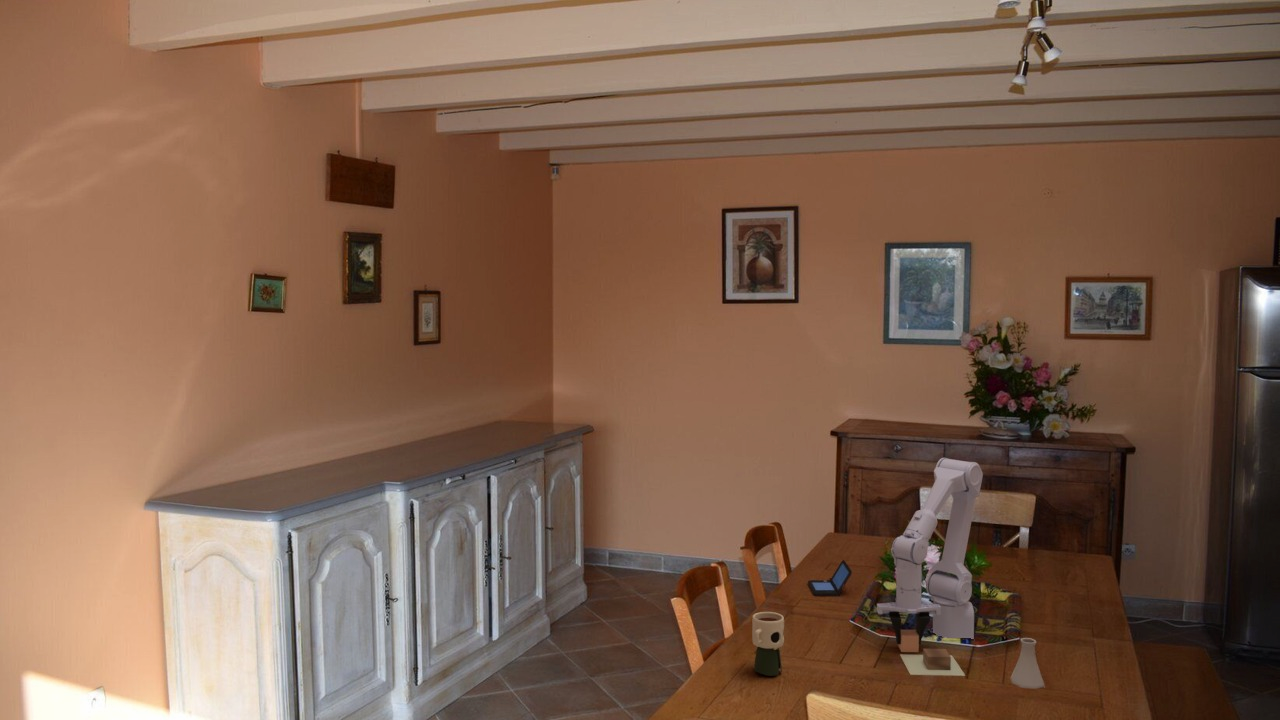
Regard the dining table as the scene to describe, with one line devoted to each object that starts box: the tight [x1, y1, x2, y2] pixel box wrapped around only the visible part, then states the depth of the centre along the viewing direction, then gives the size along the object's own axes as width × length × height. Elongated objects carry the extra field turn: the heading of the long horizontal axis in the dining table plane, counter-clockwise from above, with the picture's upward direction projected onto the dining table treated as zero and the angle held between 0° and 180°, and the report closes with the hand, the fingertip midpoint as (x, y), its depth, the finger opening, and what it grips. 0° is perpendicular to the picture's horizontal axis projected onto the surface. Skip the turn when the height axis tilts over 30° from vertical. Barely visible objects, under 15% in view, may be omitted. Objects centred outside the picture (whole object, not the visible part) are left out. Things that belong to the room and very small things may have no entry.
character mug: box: [751, 611, 785, 677], centre depth 221 cm, size 11×7×13 cm, turn 143°
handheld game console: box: [807, 559, 853, 597], centre depth 282 cm, size 12×11×7 cm
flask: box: [1010, 637, 1046, 690], centre depth 214 cm, size 7×7×10 cm
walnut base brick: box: [922, 648, 951, 670], centre depth 223 cm, size 5×5×3 cm
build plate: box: [899, 654, 966, 677], centre depth 224 cm, size 12×12×1 cm
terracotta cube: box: [897, 629, 920, 653], centre depth 233 cm, size 4×4×4 cm
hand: (908, 643), depth 233 cm, fingers closed on terracotta cube, 4 cm apart
